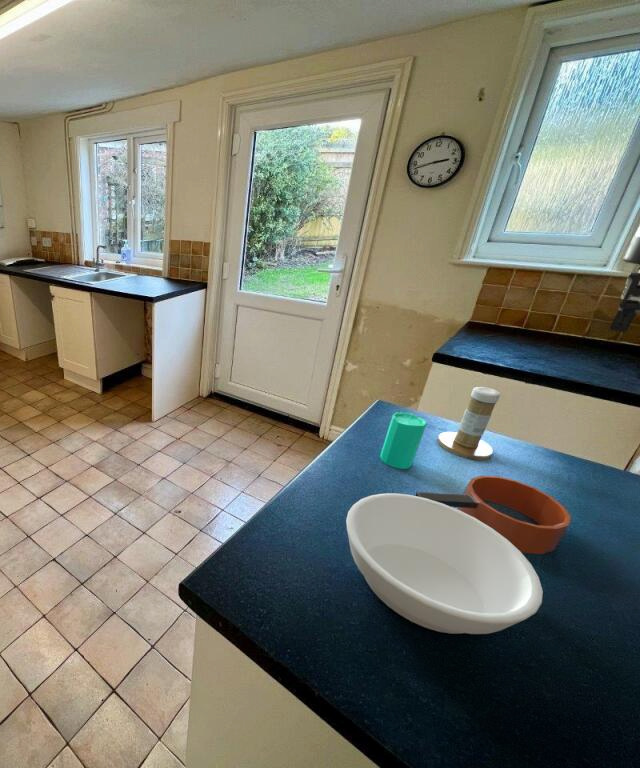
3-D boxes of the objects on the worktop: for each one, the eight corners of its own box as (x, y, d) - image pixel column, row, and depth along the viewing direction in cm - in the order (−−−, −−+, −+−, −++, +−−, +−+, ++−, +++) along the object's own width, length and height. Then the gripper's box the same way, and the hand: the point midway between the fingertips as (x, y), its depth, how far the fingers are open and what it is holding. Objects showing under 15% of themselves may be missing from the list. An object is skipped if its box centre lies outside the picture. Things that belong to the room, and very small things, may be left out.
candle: (416, 470, 87) (434, 420, 82) (386, 467, 88) (402, 418, 83) (404, 453, 92) (420, 406, 87) (375, 451, 93) (389, 404, 88)
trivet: (472, 436, 99) (474, 432, 98) (502, 461, 90) (504, 457, 89) (428, 434, 100) (429, 430, 99) (453, 458, 91) (455, 454, 90)
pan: (516, 501, 78) (528, 477, 76) (578, 557, 66) (594, 531, 64) (393, 493, 80) (401, 470, 78) (431, 546, 68) (442, 521, 66)
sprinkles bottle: (473, 440, 95) (495, 387, 90) (481, 450, 92) (504, 396, 86) (450, 436, 97) (470, 384, 91) (456, 446, 93) (478, 393, 87)
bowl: (338, 514, 75) (349, 477, 72) (494, 560, 66) (515, 520, 62) (329, 617, 57) (343, 574, 54) (542, 701, 48) (575, 656, 44)
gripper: (703, 240, 64) (647, 339, 71) (701, 234, 72) (651, 323, 79) (631, 236, 69) (586, 329, 76) (637, 231, 77) (595, 315, 84)
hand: (619, 326), depth 78 cm, fingers open, 8 cm apart
